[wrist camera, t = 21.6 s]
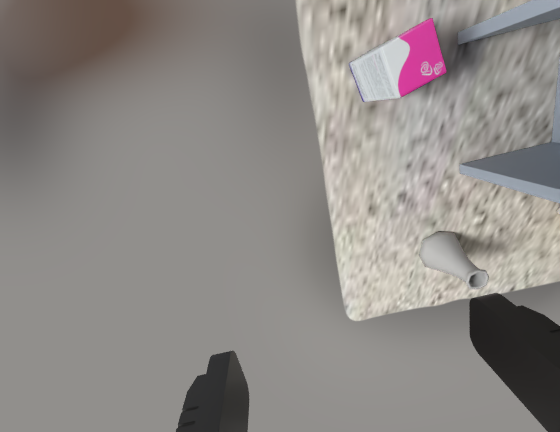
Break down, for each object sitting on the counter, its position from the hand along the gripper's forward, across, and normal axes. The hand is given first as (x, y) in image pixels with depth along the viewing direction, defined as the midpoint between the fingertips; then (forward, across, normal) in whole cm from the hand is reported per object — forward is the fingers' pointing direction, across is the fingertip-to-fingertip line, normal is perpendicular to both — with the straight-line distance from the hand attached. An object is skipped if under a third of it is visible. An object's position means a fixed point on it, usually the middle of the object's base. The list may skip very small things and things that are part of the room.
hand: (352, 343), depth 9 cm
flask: (+36, -23, +21) cm, 48 cm away
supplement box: (+36, -15, -10) cm, 40 cm away
